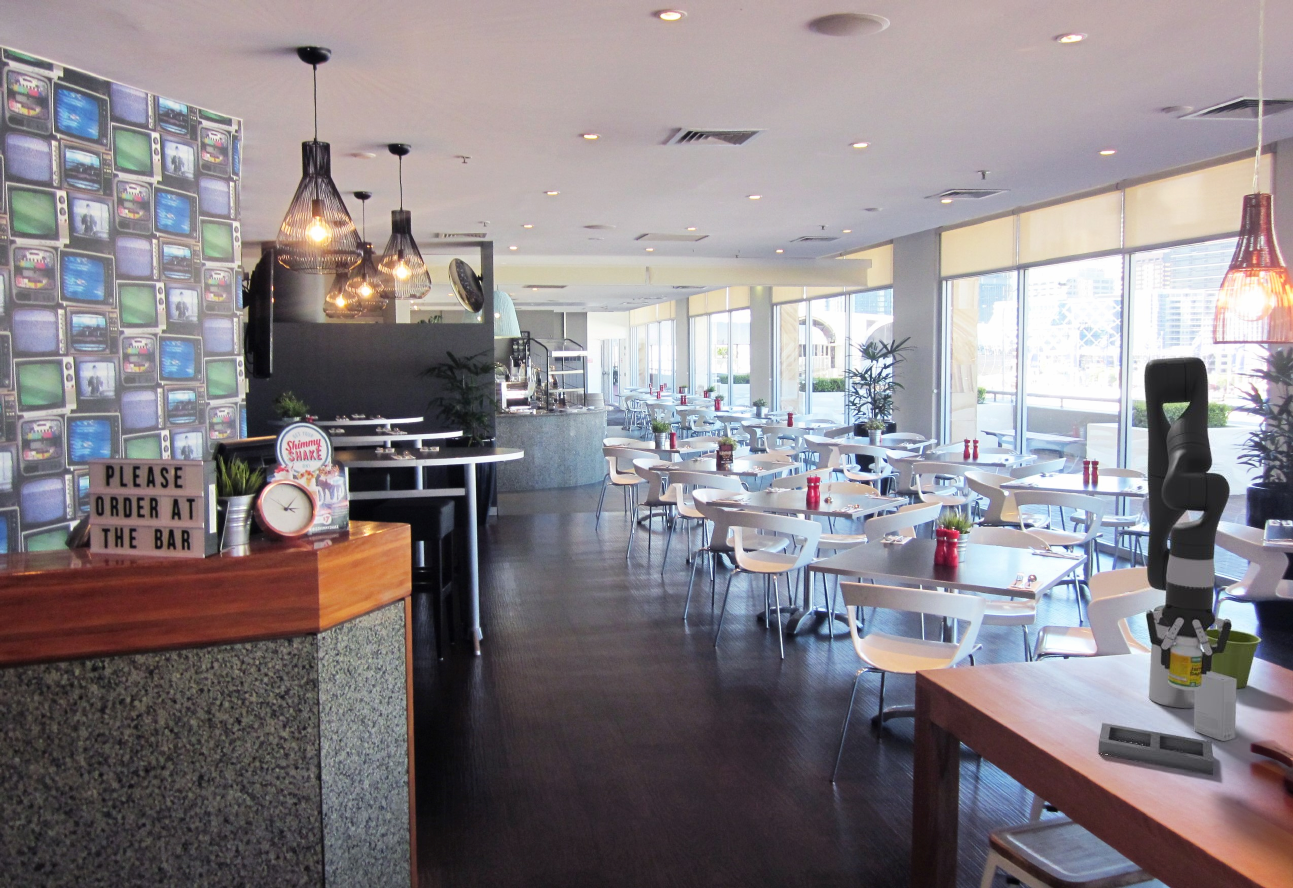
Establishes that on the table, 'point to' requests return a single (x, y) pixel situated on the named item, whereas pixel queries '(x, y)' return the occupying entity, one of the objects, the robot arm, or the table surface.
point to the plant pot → (1234, 655)
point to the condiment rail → (1157, 748)
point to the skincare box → (1216, 706)
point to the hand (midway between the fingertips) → (1185, 670)
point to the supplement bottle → (1185, 663)
